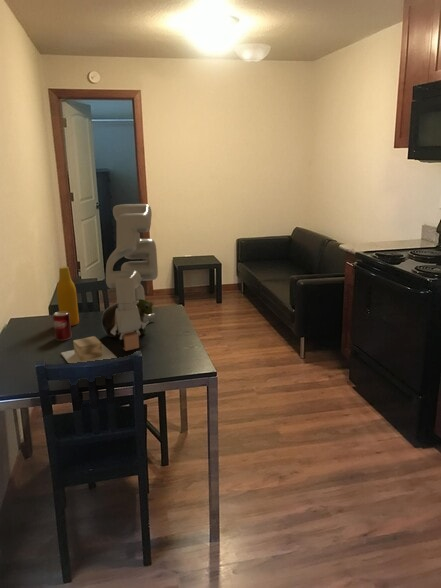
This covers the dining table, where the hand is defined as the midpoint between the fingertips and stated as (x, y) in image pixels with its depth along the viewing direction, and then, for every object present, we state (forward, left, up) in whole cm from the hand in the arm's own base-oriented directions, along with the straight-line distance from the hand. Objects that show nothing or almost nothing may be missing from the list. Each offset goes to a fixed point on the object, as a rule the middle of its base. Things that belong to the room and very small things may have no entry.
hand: (129, 344), depth 202 cm
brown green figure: (-7, -18, -4) cm, 20 cm away
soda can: (+19, -33, -4) cm, 39 cm away
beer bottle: (+11, -52, -4) cm, 53 cm away
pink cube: (0, 0, -1) cm, 1 cm away
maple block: (+16, -5, -3) cm, 17 cm away
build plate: (+16, -5, -3) cm, 18 cm away
